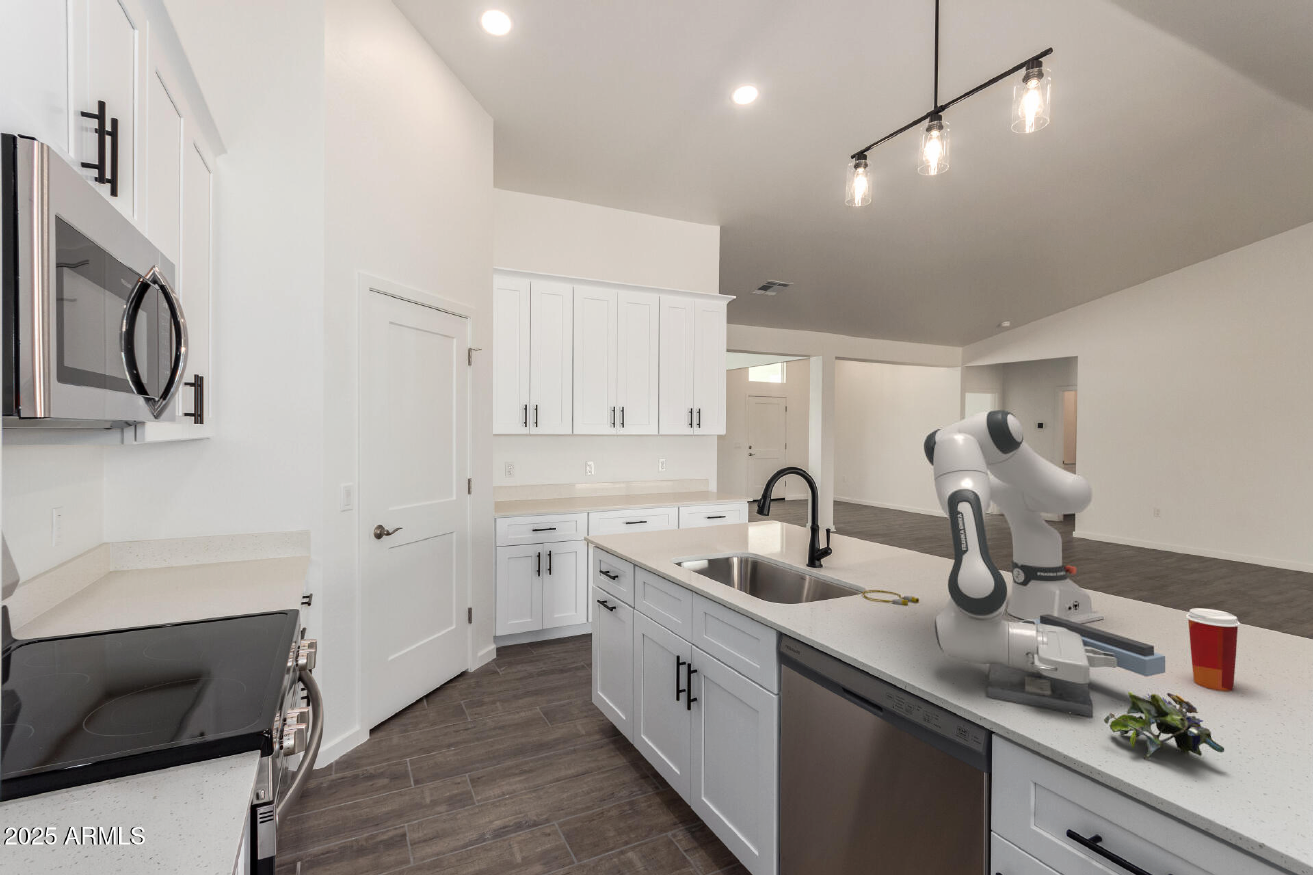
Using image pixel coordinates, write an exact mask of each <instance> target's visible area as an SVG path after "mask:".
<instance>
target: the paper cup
mask: <svg viewBox="0 0 1313 875" xmlns="http://www.w3.org/2000/svg"><path fill="white" fill-rule="evenodd" d="M1185 618H1186V619H1187V620H1188V632H1189V633H1188V634H1189V645H1190V655H1191V666H1192V667H1191V668H1192V676H1193V681H1194V684H1196V685H1198V686H1200V687H1203V688H1206V689H1209V690H1212V691H1213V690H1214V691H1220V692H1231V691H1233V690H1234V686H1235V685H1234V683H1235V673H1236V658H1237V645H1238V644H1237V642H1238V629H1239V627H1240V626H1241V623H1240V621H1239V620H1238V616H1236V615H1234V614H1232V613H1229V612H1226V611H1222V610H1219V609H1218V610H1217V609H1210V608H1199V607H1197V608H1191V609H1189V611H1188V612H1187V614H1186V615H1185Z"/></svg>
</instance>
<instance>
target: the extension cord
mask: <svg viewBox="0 0 1313 875" xmlns="http://www.w3.org/2000/svg"><path fill="white" fill-rule="evenodd" d="M868 593H870V594H871V593H882V594H883V593H884V594H890V595H895V596H898V597H899V598H896V599H895V598H894V599H892V600H890V599H889V600H888V599H880V598H879V599H878V598H872V597H870V596H867V595H865V594H868ZM863 595H864V597H865V598H864V597H863V598H864V599H865V600H868V601H871V602H875V603H892V604H893V605H900V606H908V605H909V603H913V604H919V603H920V599H919V598H918V597H915V596H912V595H904V596H901V594H899V593H896V592H894V591H893V592H892V591H887V590H883V589H882V590H880V589H868V590H864V591H862V596H863Z"/></svg>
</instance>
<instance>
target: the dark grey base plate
mask: <svg viewBox="0 0 1313 875" xmlns="http://www.w3.org/2000/svg"><path fill="white" fill-rule="evenodd" d="M989 667H990V669H989V674H988V675H989V676H988V681H987V682H988V683H987V698H990V699H994V700H1000V701H1004V702H1005V701H1006V702H1009V701H1011V702H1010V703H1014V704H1015V703H1016V704H1020V705H1021V704H1022V705H1025V704H1026V706H1031V707H1035V706H1037V707H1036V708H1040V707H1041V708H1042V709H1046V708H1048V709H1047V710H1051V709H1052V710H1053V711H1056V710H1059V711H1058V712H1061V711H1063V712H1062V713H1066V712H1071V713H1073V714H1072V715H1077V714H1080V715H1079V716H1082V715H1084V716H1083V717H1087V716H1089V718H1092V717H1093V718H1094V706H1093V702H1092V698H1091V694H1090V693H1091V692H1090V691H1089V685H1088V683H1076V682H1071V681H1066V680H1061V679H1057V678H1052V677H1049V676H1046V675H1043V674H1041V673H1040V672H1039V670H1038V669H1037V673H1034V672H1028V671H1023V670H1017V669H1010V668H1006V667H1004V666H1001V665H998V664H992V663H990V666H989ZM1071 713H1070V714H1071Z"/></svg>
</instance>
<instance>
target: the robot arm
mask: <svg viewBox="0 0 1313 875" xmlns="http://www.w3.org/2000/svg"><path fill="white" fill-rule="evenodd" d="M1022 428H1023V427H1022V424H1021V423H1020V421H1019V420H1018V419H1017V417H1016V415H1015V414H1013V413H1012V412H1010V411H1009V410H1004V409H999V410H997V409H996V410H991V411H981V412H977V413H975V414H973V415H972V416H971V417H967V418H964V419H961V420H960V421H957V422H955V423H952V424H950V425H947V426H945V427H943V428H938V429H936V430H933V431H932V432H930V433H929V434H928V435H927V436H926V438H925V439H924V442H923V450H924V455H925V457H926V459H927V461H928V463H929V464H930V465H931V466H932V467H933V469H932V470H933V479H934V487H935V491H936V495H937V499H938V502H939V505H940V509H941V510H942V511H943V513H944V514H945V515H946V517H947V519H948V521H949V524H950V529H951V532H950V533H951V538H952V545H953V547H952V548H953V555H954V557H953V558H954V560H953V564H952V568H951V570H950V573H949V576H948V580H947V589H948V592H949V595H950V598H949V600H948V602H947V603H946V605H945V607H944V608H943V609H942V610H941V612H940V613H939V614H938V615H937V616H935V619H934V631H935V638H936V641H937V645H938V646H939V648H940V650H941V652H943V653H944V654H945V655H947V656H948V657H950V658H951V657H952V658H954V659H958V660H962V661H966V662H971V663H976V664H981V665H989V664H990V665H991V663H992V664H998V665H1001V666H1004V667H1006V668H1010V669H1017V670H1023V671H1028V672H1034V673H1037V669H1038V670H1039V672H1040V673H1041V674H1043V675H1046V676H1049V677H1052V678H1057V679H1061V680H1066V681H1071V682H1076V683H1087V684H1089V683H1090V681H1091V680H1090V678H1091V674H1090V668H1102V667H1103V668H1113V669H1115V668H1116V669H1117V659H1116V657H1115V655H1114V654H1113V653H1109V652H1103V651H1100V650H1097V649H1095V648H1092V647H1085V646H1084V645H1083V641H1082V638H1081V635H1079V634H1077V633H1075V632H1072V631H1069V630H1067V629H1066V628H1062V627H1057V626H1051V625H1045V624H1038V625H1037V623H1036V621H1033V620H1025V619H1040V615H1046V614H1049V615H1053V616H1056V617H1059V618H1063V619H1066V620H1069V621H1073V622H1076V623H1079V624H1085V623H1091V622H1095V621H1100V620H1104V614H1103V613H1102V612H1099V611H1097V610H1095V609H1093V604H1092V600H1091V595H1089V593H1088V592H1087V591H1086V590H1084V589H1083V588H1082V587H1080V586H1079V585H1078V584H1076V583H1075V582H1074V581H1072V579H1070V578H1069V575H1068V574H1071V575H1075V574H1076V573H1077V571H1078V570H1077V567H1076V566H1073V565H1069V564H1068V565H1066V566H1065V565H1064V564H1063V551H1062V550H1063V546H1062V545H1063V539H1062V536H1061V534H1060V533H1059V532H1058V530H1057V529H1055V528H1054V527H1052V526H1050V524H1048V523H1047V522H1046V521H1045V518H1043V515H1042V513H1047V514H1056V515H1071V514H1081V513H1082V512H1084V511H1085V510H1086V509H1087V508H1088V507H1089V506H1090V504H1091V501H1092V498H1093V492H1092V487H1091V485H1090V483H1089V482H1088V480H1087V479H1086V478H1085V477H1083V475H1082V476H1081V475H1079V474H1075V473H1072V472H1070V471H1067V470H1065V469H1063V468H1061V467H1059V466H1057V465H1055V464H1054V463H1052V462H1050V461H1048V460H1047V459H1045V458H1044V457H1043V456H1041V455H1039V454H1038V453H1037V452H1035V451H1034V450H1033V449H1032V448H1031V447H1030V446H1029V444H1027V442H1026V441H1025V440H1024V432H1023V429H1022ZM989 472H990V474H991V476H989ZM991 502H992V503H993V504H995V506H996V507H998V509H999V510H1000V511H1001V512H1002V514H1003V515H1004V517H1005V519H1006V521H1007V523H1008V526H1009V529H1010V532H1011V539H1012V557H1013V558H1012V561H1011V572H1010V573H1011V577H1012V583H1011V591H1010V598H1009V602H1008V601H1007V600H1008V599H1007V595H1008V586H1007V582H1006V580H1005V578H1004V576H1003V574H1002V573H1001V571H1000V570H999V569H998V567H997V565H995V563H994V562H993V559H992V557H991V554H990V550H989V543H988V537H987V530H986V526H985V523H986V522H985V517H986V512H987V511H988V510H989V509H990V508H991ZM1007 603H1008V605H1007ZM1006 608H1007V609H1006ZM1005 611H1006V612H1007V613H1008V614H1009V615H1011V616H1012V617H1016V618H1019V619H1021V620H1022V621H1020V622H1013V621H1008V620H1004V619H1003V616H1004V612H1005Z"/></svg>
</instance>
